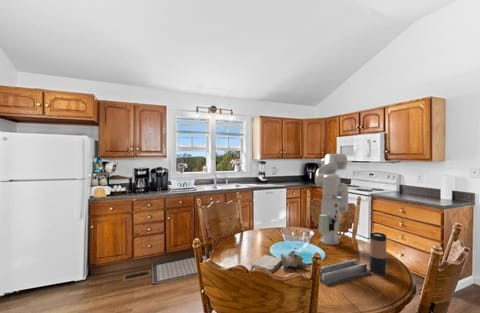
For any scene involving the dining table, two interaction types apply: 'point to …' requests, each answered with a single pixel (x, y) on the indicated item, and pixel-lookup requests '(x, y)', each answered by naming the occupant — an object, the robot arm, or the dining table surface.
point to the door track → (342, 272)
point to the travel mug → (378, 253)
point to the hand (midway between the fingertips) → (329, 229)
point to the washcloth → (267, 263)
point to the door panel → (327, 225)
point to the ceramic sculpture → (293, 260)
